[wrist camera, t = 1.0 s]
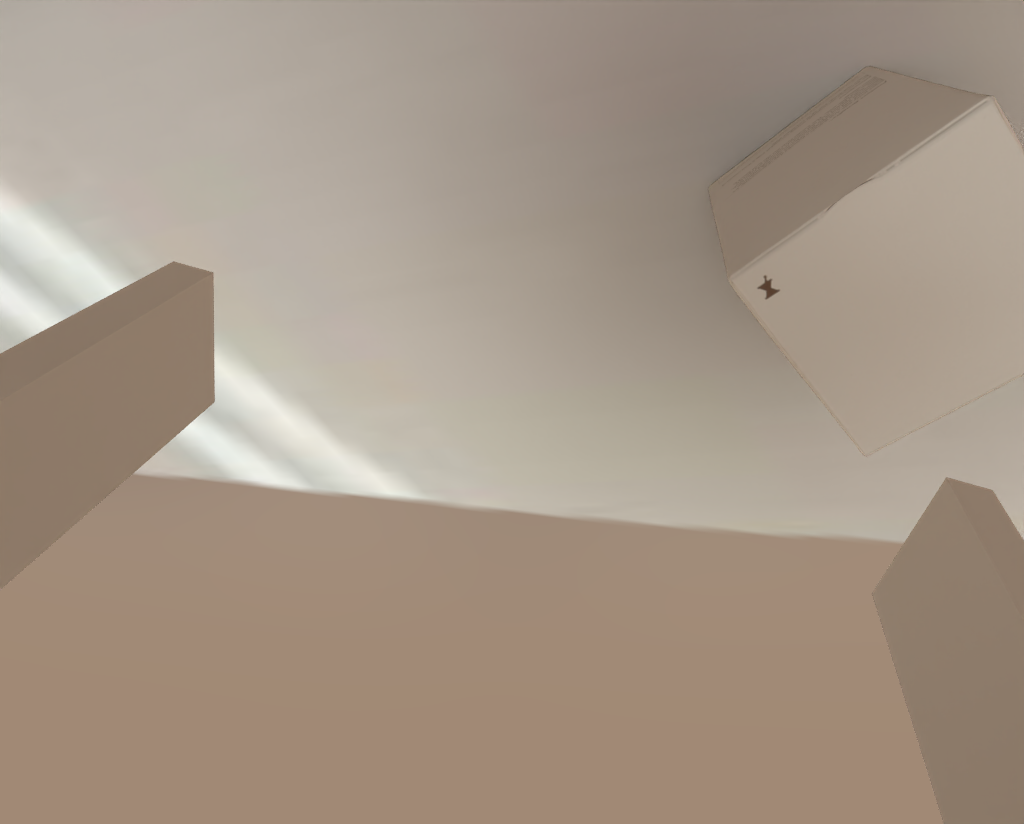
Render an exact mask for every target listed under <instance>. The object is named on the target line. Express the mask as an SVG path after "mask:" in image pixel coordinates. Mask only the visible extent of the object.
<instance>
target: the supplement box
mask: <svg viewBox="0 0 1024 824" xmlns="http://www.w3.org/2000/svg"><path fill="white" fill-rule="evenodd" d="M708 192H709V196H710V201H711V205H712V209H713V214H714V218H715V223H716V227H717V231H718V235H719V240H720V244H721V249H722V253H723V258H724V262H725V267H726V272H727V277H728V281H729V283H730V285H731V286H732V287H733V289H734V290H735V291H736V293H737V294H738V295H739V297H740V298H741V299H742V301H743V302H744V303H745V305H746V306H747V307H748V309H749V310H750V311H751V313H752V314H753V315H754V317H755V318H756V319H757V321H758V322H759V323H760V325H761V326H762V327H763V328H764V330H765V331H766V332H767V334H768V335H769V336H770V337H771V339H772V340H773V341H774V342H775V344H776V345H777V346H778V348H779V349H780V350H781V351H782V353H783V354H784V355H785V356H786V358H787V359H788V360H789V361H790V363H791V364H792V365H793V367H794V368H795V369H796V370H797V372H798V373H799V374H800V375H801V377H802V378H803V379H804V380H805V382H806V383H807V384H808V385H809V387H810V388H811V389H812V390H813V391H814V393H815V394H816V395H817V396H818V398H819V399H820V400H821V401H822V403H823V404H824V405H825V407H826V408H827V409H828V410H829V412H830V413H831V414H832V416H833V417H834V418H835V419H836V421H837V422H838V423H839V424H840V426H841V427H842V428H843V430H844V431H845V432H846V433H847V435H848V436H849V437H850V438H851V440H852V441H853V442H854V443H855V445H856V446H857V447H858V449H859V450H860V452H861V453H862V454H863V455H864V456H866V457H867V456H869V455H871V454H872V453H874V452H876V451H878V450H880V449H882V448H883V447H885V446H887V445H889V444H891V443H893V442H895V441H897V440H899V439H900V438H902V437H904V436H906V435H908V434H910V433H912V432H914V431H916V430H918V429H920V428H922V427H924V426H926V425H927V424H929V423H931V422H933V421H935V420H937V419H939V418H941V417H943V416H945V415H947V414H949V413H951V412H953V411H955V410H956V409H958V408H960V407H962V406H964V405H966V404H968V403H970V402H972V401H974V400H976V399H978V398H980V397H982V396H984V395H985V394H987V393H989V392H991V391H993V390H995V389H997V388H999V387H1001V386H1003V385H1005V384H1007V383H1008V382H1010V381H1012V380H1014V379H1016V378H1018V377H1020V376H1022V375H1024V148H1023V147H1022V145H1021V143H1020V141H1019V139H1018V138H1017V136H1016V134H1015V132H1014V130H1013V129H1012V127H1011V125H1010V123H1009V121H1008V120H1007V118H1006V116H1005V114H1004V113H1003V111H1002V109H1001V107H1000V105H999V104H998V102H997V101H996V99H995V98H994V97H993V96H988V95H981V94H976V93H972V92H968V91H963V90H959V89H955V88H951V87H948V86H944V85H940V84H936V83H932V82H928V81H925V80H920V79H916V78H912V77H909V76H905V75H901V74H898V73H894V72H890V71H886V70H882V69H878V68H875V67H872V66H869V67H865V68H864V69H862V70H861V71H860V72H858V73H857V74H856V75H854V76H853V77H852V78H850V79H849V80H848V81H847V82H845V83H844V84H843V85H841V86H840V87H839V88H837V89H836V90H835V91H833V92H832V93H831V94H829V95H828V96H827V97H825V98H824V99H823V100H822V101H820V102H819V103H818V104H816V105H815V106H814V107H812V108H811V109H810V110H808V111H807V112H806V113H804V114H803V115H802V116H800V117H799V118H798V119H796V120H795V121H794V122H792V123H791V124H790V125H789V126H787V127H786V128H785V129H783V130H782V131H781V132H779V133H778V134H777V135H775V136H774V137H773V138H772V139H770V140H769V141H768V142H766V143H765V144H764V145H762V146H761V147H760V148H758V149H757V150H756V151H755V152H753V153H752V154H751V155H749V156H748V157H747V158H745V159H744V160H743V161H741V162H740V163H739V164H738V165H736V166H735V167H734V168H732V169H731V170H730V171H728V172H727V173H726V174H724V175H723V176H722V177H721V178H719V179H718V180H717V181H715V182H714V183H713V184H712V185H711V186H709V188H708Z"/></svg>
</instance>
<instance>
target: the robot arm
mask: <svg viewBox="0 0 1024 824" xmlns="http://www.w3.org/2000/svg"><path fill="white" fill-rule="evenodd" d="M214 402H215V393H214V286H213V272H209V271H206V270H202V269H199V268H195V267H191V266H188V265H184V264H181V263H177V262H172V263H170V264H168V265H166V266H164V267H162V268H160V269H159V270H157V271H155V272H153V273H151V274H149V275H147V276H145V277H144V278H142V279H140V280H138V281H136V282H134V283H132V284H130V285H129V286H127V287H125V288H123V289H121V290H119V291H117V292H115V293H113V294H112V295H110V296H108V297H106V298H104V299H102V300H100V301H98V302H97V303H95V304H93V305H91V306H89V307H87V308H85V309H83V310H82V311H80V312H78V313H76V314H74V315H72V316H70V317H68V318H67V319H65V320H63V321H61V322H59V323H57V324H55V325H53V326H52V327H50V328H48V329H46V330H44V331H42V332H40V333H38V334H36V335H35V336H33V337H31V338H29V339H27V340H25V341H23V342H21V343H20V344H18V345H16V346H14V347H12V348H10V349H8V350H6V351H5V352H3V353H1V354H0V590H1V589H2V588H3V587H4V586H5V585H7V584H8V583H9V582H10V581H11V580H12V579H13V578H15V577H16V576H17V575H18V574H19V573H20V572H21V571H23V570H24V569H25V568H26V567H27V566H28V565H29V564H30V563H32V562H33V561H34V560H35V559H36V558H37V557H39V556H40V555H41V554H42V553H43V552H44V551H45V550H47V549H48V548H49V547H50V546H51V545H52V544H53V543H54V542H56V541H57V540H58V539H59V538H60V537H61V536H62V535H63V534H65V533H66V532H67V531H68V530H69V529H70V528H72V527H73V526H74V525H75V524H76V523H77V522H78V521H79V520H81V519H82V518H83V517H84V516H85V515H86V514H87V513H88V512H90V511H91V510H92V509H93V508H94V507H95V506H97V505H98V504H99V503H100V502H101V501H102V500H103V499H105V498H106V497H107V496H108V495H109V494H110V493H111V492H112V491H114V490H115V489H116V488H117V487H118V486H119V485H120V484H121V483H123V482H124V481H125V480H126V479H127V478H128V477H130V476H131V475H132V474H133V473H134V472H135V471H136V470H138V469H139V468H140V467H141V466H142V465H143V464H144V463H146V462H147V461H148V460H149V459H150V458H151V457H152V456H154V455H155V454H156V453H157V452H158V451H159V450H160V449H161V448H163V447H164V446H165V445H166V444H167V443H168V442H169V441H171V440H172V439H173V438H174V437H175V436H176V435H177V434H179V433H180V432H181V431H182V430H183V429H184V428H185V427H187V426H188V425H189V424H190V423H191V422H192V421H193V420H194V419H196V418H197V417H198V416H199V415H200V414H201V413H202V412H204V411H205V410H206V409H207V408H208V407H209V406H210V405H212V404H213V403H214ZM872 596H873V599H874V602H875V605H876V608H877V612H878V615H879V618H880V621H881V624H882V628H883V631H884V634H885V637H886V640H887V643H888V647H889V650H890V653H891V656H892V660H893V663H894V666H895V669H896V672H897V676H898V679H899V682H900V685H901V688H902V692H903V695H904V698H905V701H906V704H907V708H908V711H909V714H910V717H911V720H912V724H913V727H914V730H915V733H916V736H917V740H918V742H919V746H920V749H921V753H922V756H923V759H924V762H925V765H926V769H927V772H928V775H929V778H930V781H931V785H932V788H933V791H934V794H935V797H936V800H937V804H938V807H939V810H940V813H941V816H942V820H943V823H944V824H1024V540H1023V539H1022V537H1021V535H1020V534H1019V532H1018V531H1017V529H1016V527H1015V526H1014V524H1013V523H1012V521H1011V519H1010V518H1009V516H1008V514H1007V513H1006V511H1005V510H1004V508H1003V506H1002V505H1001V503H1000V502H999V500H998V498H997V497H996V495H995V493H994V492H993V490H990V489H987V488H983V487H979V486H976V485H972V484H969V483H965V482H961V481H958V480H954V479H951V478H947V477H946V479H945V480H944V482H943V484H942V485H941V487H940V488H939V490H938V491H937V493H936V494H935V496H934V498H933V499H932V501H931V502H930V504H929V505H928V507H927V508H926V510H925V512H924V513H923V515H922V516H921V518H920V519H919V521H918V522H917V524H916V526H915V527H914V529H913V530H912V532H911V533H910V535H909V536H908V538H907V540H906V541H905V543H904V544H903V546H902V547H901V549H900V551H899V552H898V554H897V555H896V557H895V558H894V560H893V562H892V563H891V564H890V566H889V568H888V569H887V571H886V572H885V574H884V575H883V577H882V578H881V580H880V582H879V583H878V585H877V586H876V588H875V589H874V591H873V593H872Z"/></svg>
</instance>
